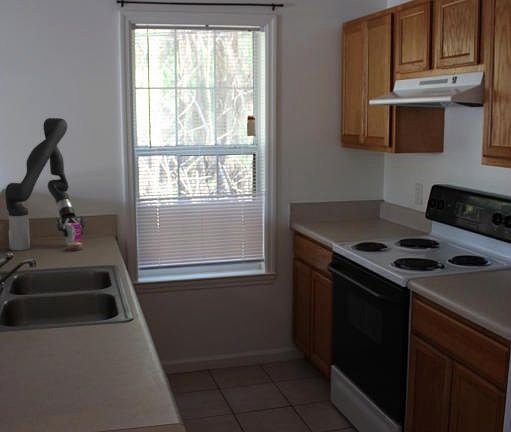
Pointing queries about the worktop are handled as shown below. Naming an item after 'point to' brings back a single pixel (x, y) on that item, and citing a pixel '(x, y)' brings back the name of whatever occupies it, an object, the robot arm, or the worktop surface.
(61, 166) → the robot arm
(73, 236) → the supplement box
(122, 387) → the worktop surface
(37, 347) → the worktop surface
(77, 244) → the base block
